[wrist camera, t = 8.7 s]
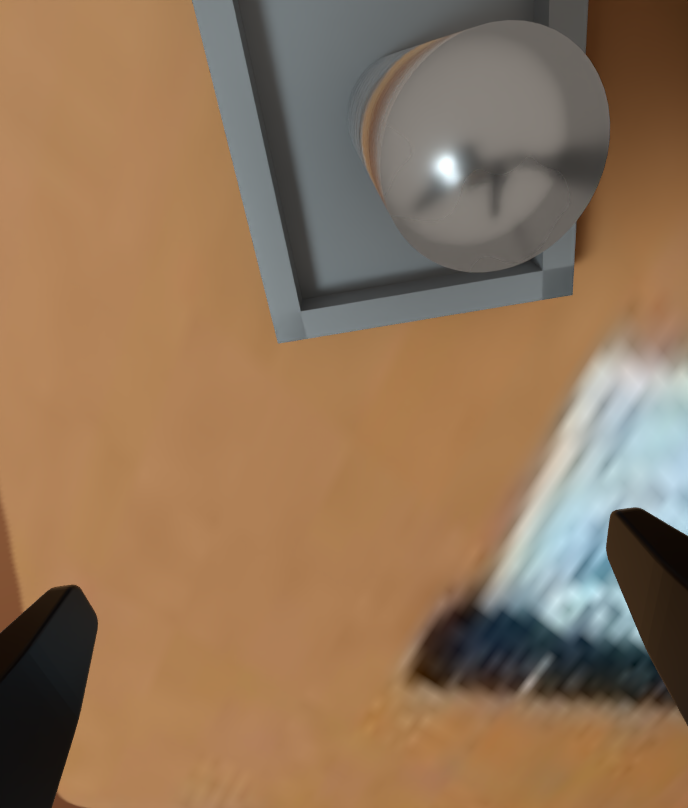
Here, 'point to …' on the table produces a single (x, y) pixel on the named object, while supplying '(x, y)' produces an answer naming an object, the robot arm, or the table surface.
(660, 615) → the robot arm
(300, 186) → the tray
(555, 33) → the pin
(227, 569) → the table surface
